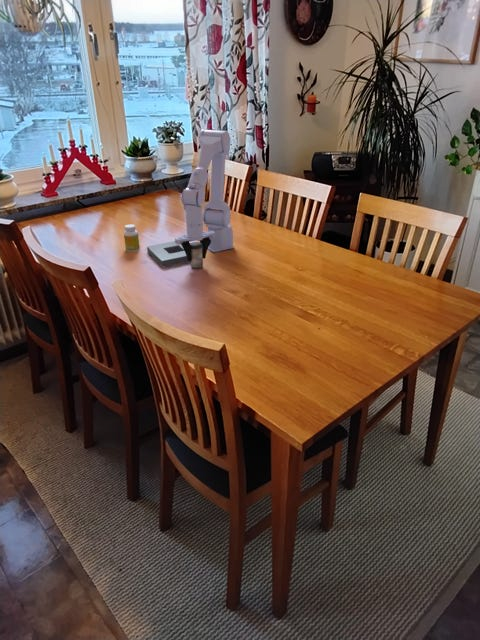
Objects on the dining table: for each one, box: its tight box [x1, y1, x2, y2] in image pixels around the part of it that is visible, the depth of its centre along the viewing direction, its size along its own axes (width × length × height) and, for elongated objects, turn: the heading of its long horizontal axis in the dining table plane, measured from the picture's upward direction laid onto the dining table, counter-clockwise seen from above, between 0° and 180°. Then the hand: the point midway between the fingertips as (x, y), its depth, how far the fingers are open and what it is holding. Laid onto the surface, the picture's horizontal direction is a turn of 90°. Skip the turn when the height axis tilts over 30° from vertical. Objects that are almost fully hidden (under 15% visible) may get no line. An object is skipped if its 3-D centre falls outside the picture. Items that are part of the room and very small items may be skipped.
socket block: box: [146, 240, 189, 268], centre depth 183 cm, size 16×16×2 cm
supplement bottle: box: [123, 223, 140, 253], centre depth 187 cm, size 5×5×10 cm
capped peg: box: [189, 241, 204, 269], centre depth 172 cm, size 5×5×8 cm
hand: (196, 259), depth 173 cm, fingers closed on capped peg, 5 cm apart
